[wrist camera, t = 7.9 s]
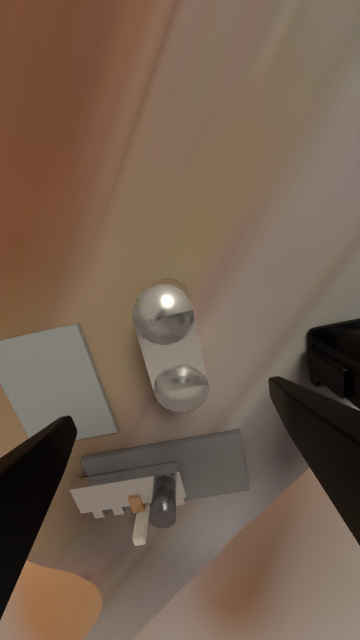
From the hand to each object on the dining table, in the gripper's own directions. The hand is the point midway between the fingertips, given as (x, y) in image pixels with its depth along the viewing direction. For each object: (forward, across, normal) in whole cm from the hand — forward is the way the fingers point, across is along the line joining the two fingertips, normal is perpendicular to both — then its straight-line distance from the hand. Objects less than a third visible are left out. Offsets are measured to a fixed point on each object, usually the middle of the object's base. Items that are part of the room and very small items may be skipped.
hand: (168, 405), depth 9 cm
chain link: (+11, 0, 0) cm, 11 cm away
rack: (+10, +10, +19) cm, 23 cm away
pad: (+11, +14, +4) cm, 18 cm away
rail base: (+11, +5, +18) cm, 22 cm away
